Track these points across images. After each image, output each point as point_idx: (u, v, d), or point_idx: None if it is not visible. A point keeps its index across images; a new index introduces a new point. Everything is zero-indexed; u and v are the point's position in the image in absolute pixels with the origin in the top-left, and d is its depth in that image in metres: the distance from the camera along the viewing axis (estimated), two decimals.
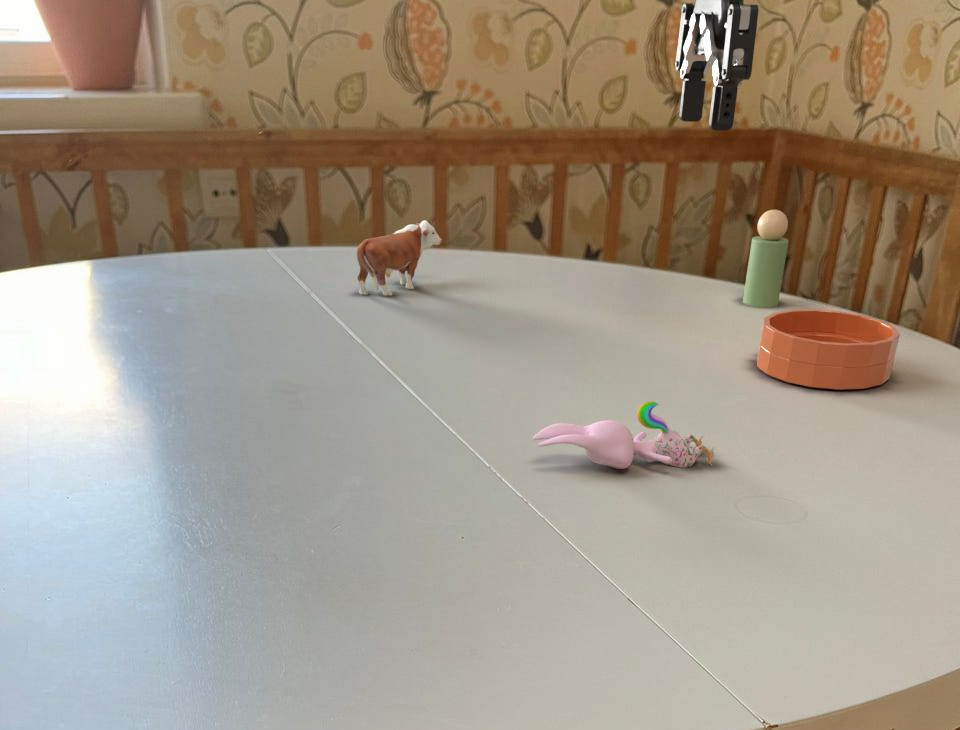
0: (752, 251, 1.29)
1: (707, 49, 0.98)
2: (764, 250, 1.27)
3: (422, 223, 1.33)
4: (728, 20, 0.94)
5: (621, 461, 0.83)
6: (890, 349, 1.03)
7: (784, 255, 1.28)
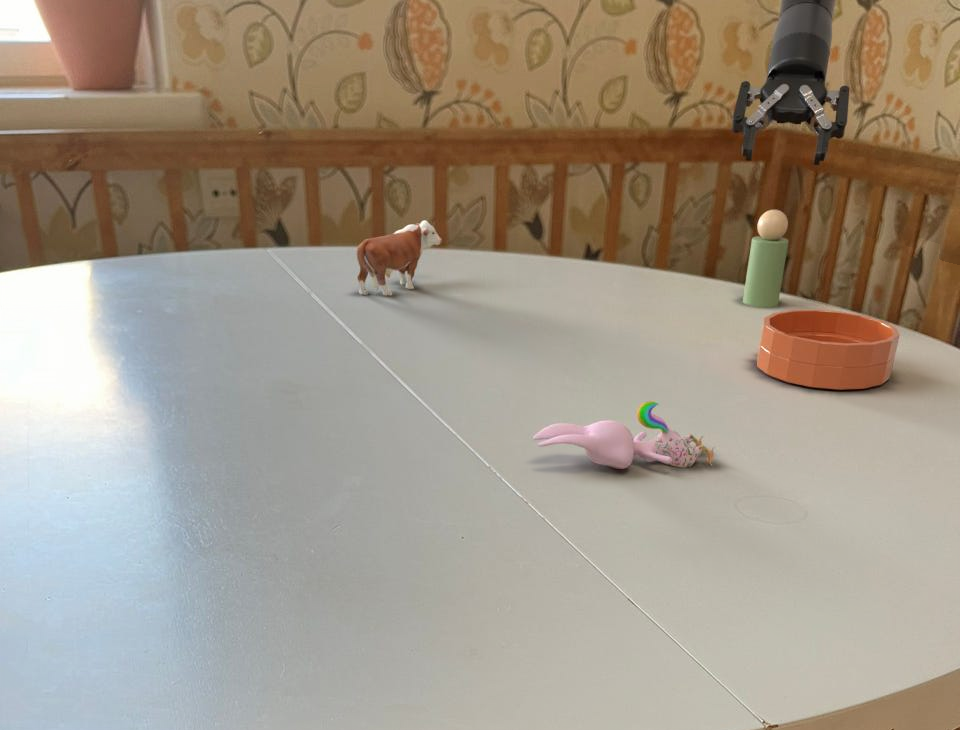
0: (752, 251, 1.29)
1: None
2: (764, 250, 1.27)
3: (422, 223, 1.33)
4: None
5: (621, 461, 0.83)
6: (890, 349, 1.03)
7: (784, 255, 1.28)
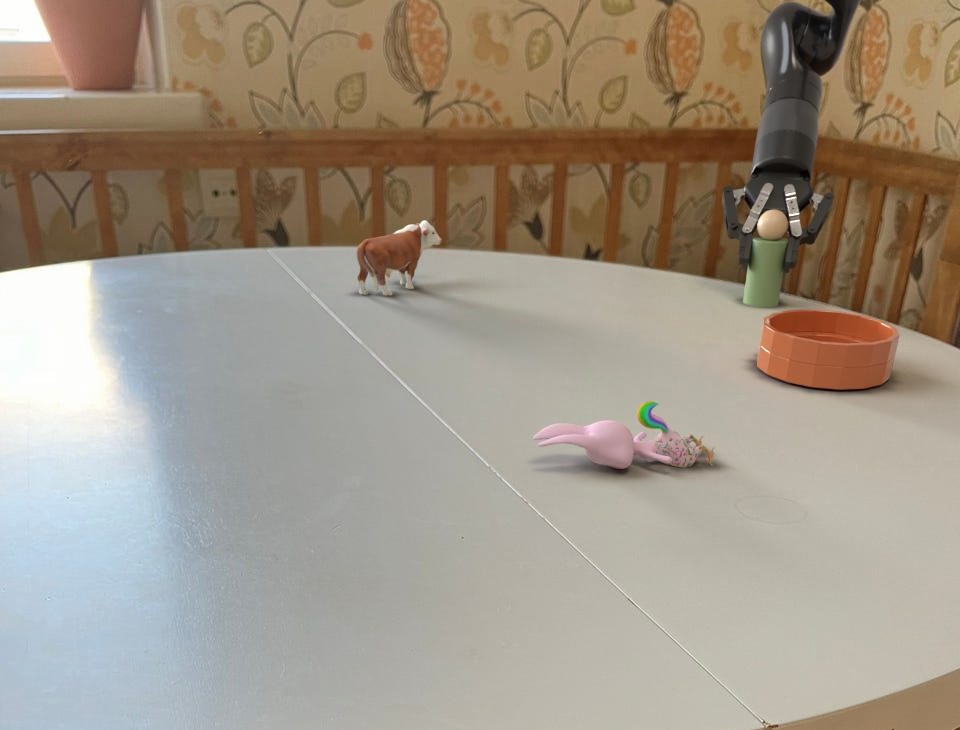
0: (752, 251, 1.29)
1: None
2: (764, 250, 1.27)
3: (422, 223, 1.33)
4: None
5: (621, 461, 0.83)
6: (890, 349, 1.03)
7: (784, 255, 1.28)
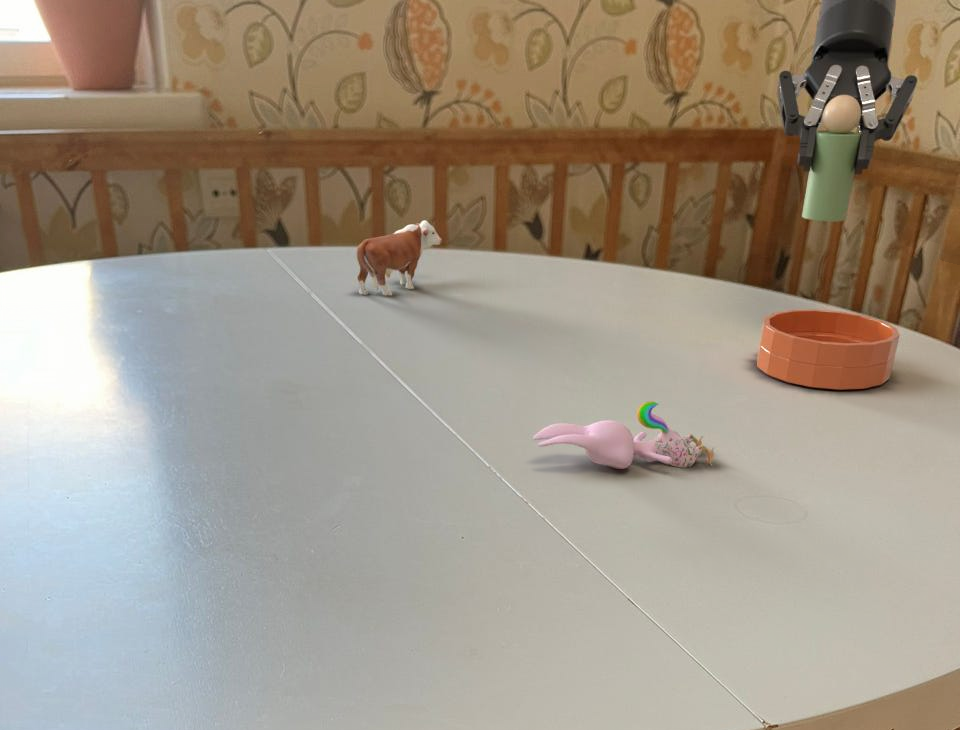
0: (816, 148, 1.05)
1: None
2: (832, 145, 1.04)
3: (422, 223, 1.33)
4: None
5: (621, 461, 0.83)
6: (890, 349, 1.03)
7: (855, 152, 1.04)
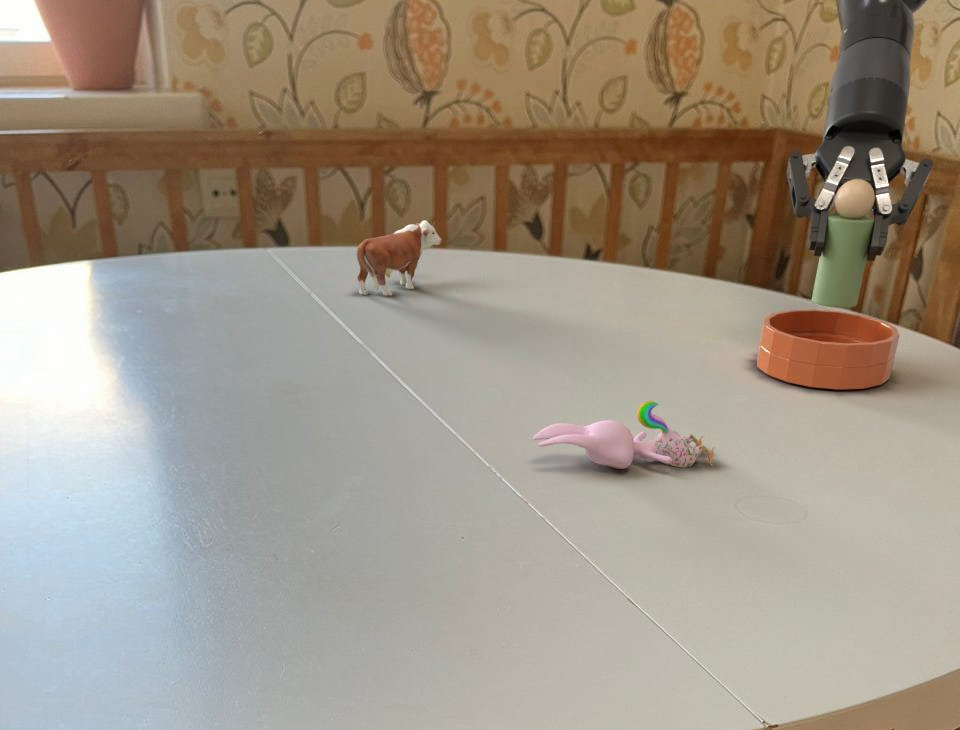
0: (827, 233, 1.01)
1: None
2: (844, 231, 0.99)
3: (422, 223, 1.33)
4: None
5: (621, 461, 0.83)
6: (890, 349, 1.03)
7: (869, 238, 1.00)
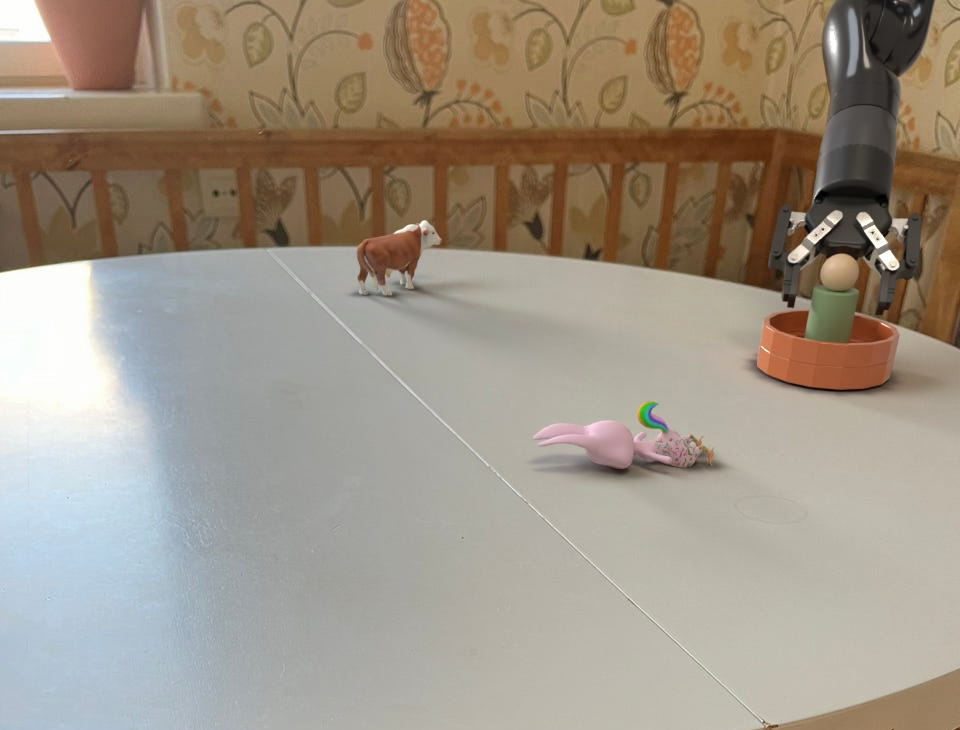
0: (814, 304, 1.04)
1: None
2: (830, 304, 1.03)
3: (422, 223, 1.33)
4: None
5: (621, 461, 0.83)
6: (890, 349, 1.03)
7: (853, 309, 1.04)
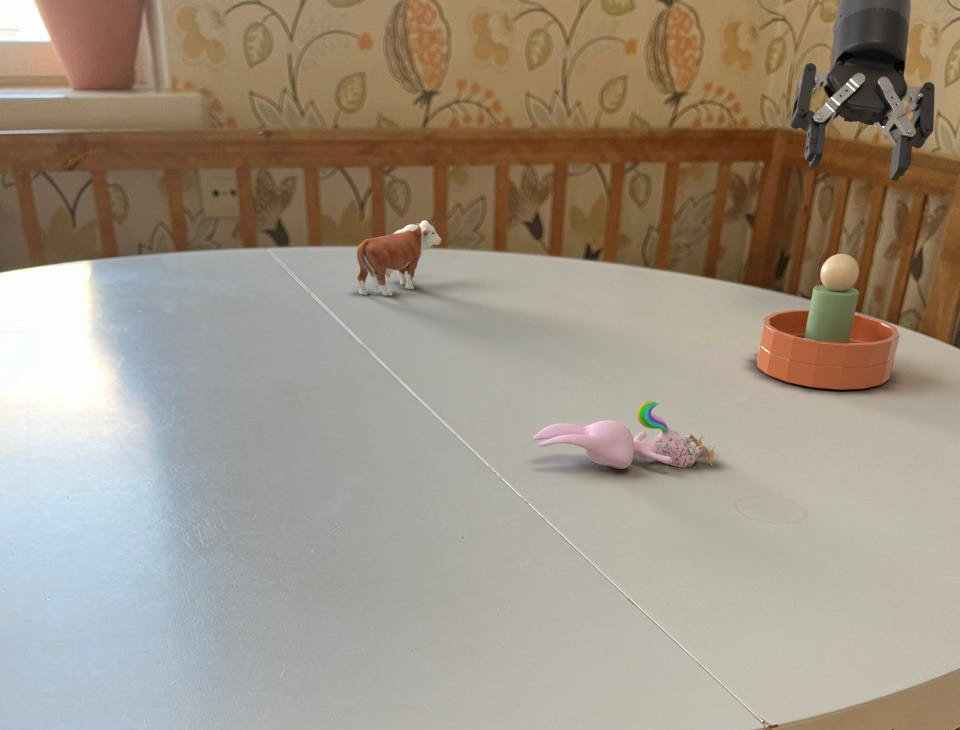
0: (814, 304, 1.04)
1: None
2: (830, 304, 1.03)
3: (422, 223, 1.33)
4: None
5: (621, 461, 0.83)
6: (890, 349, 1.03)
7: (853, 309, 1.04)
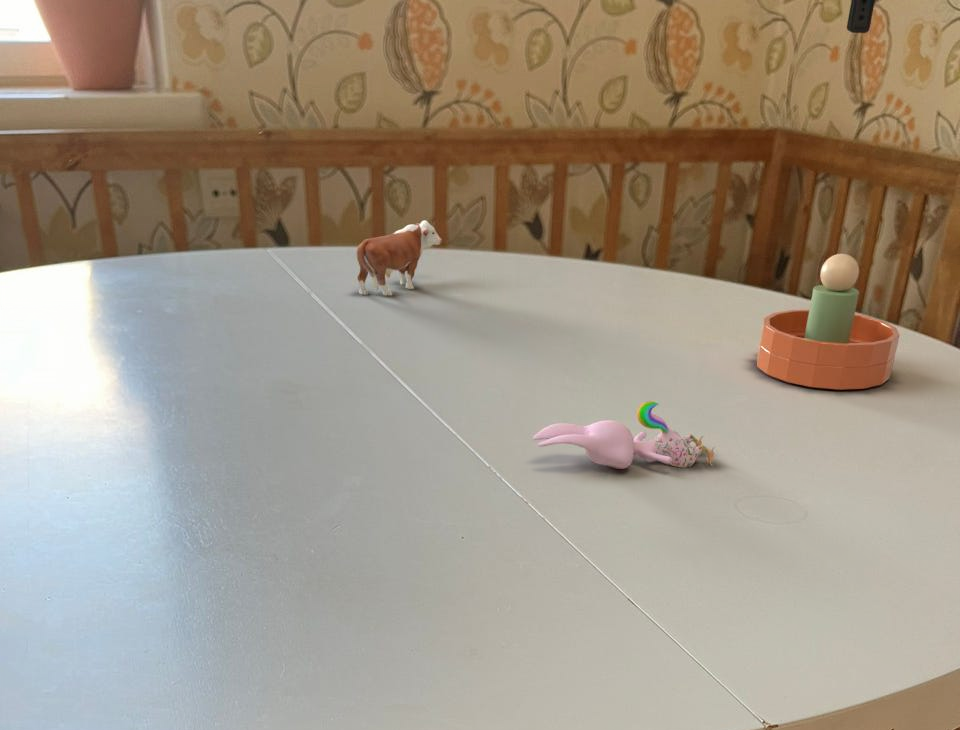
0: (814, 304, 1.04)
1: None
2: (830, 304, 1.03)
3: (422, 223, 1.33)
4: None
5: (621, 461, 0.83)
6: (890, 349, 1.03)
7: (853, 309, 1.04)
